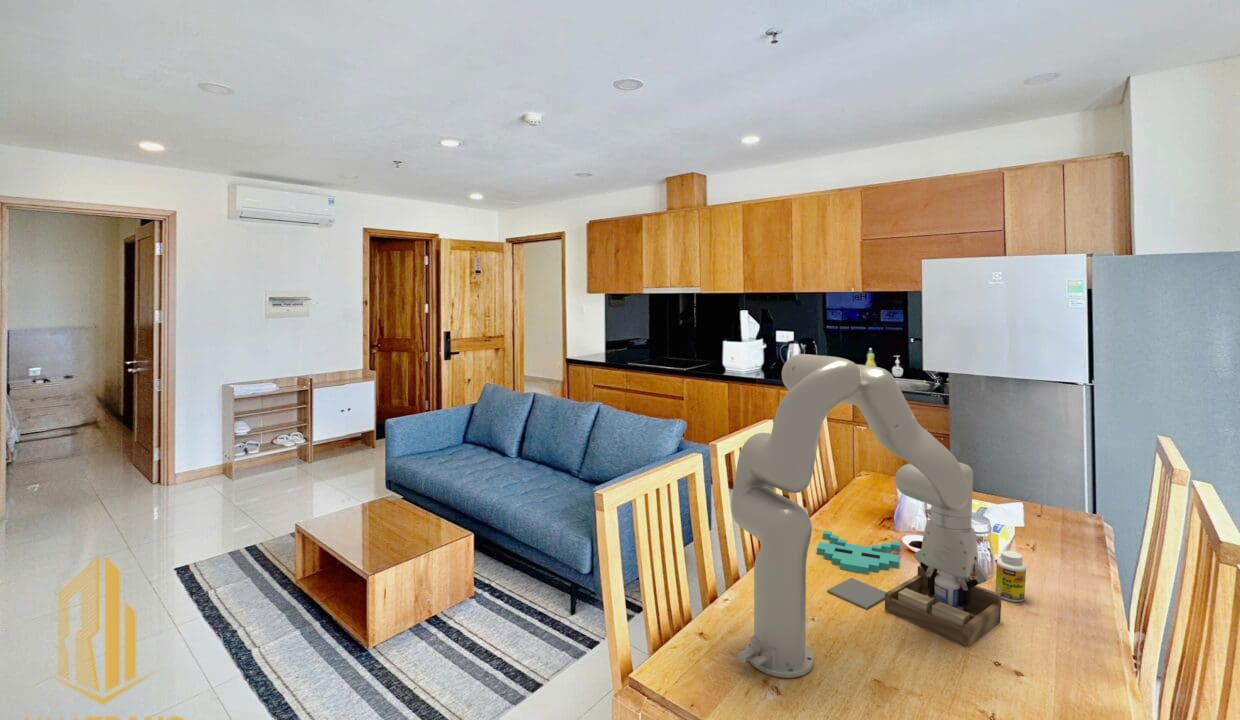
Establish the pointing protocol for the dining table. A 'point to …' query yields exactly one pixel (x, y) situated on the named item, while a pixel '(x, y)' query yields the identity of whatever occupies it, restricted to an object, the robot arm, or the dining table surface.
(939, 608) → the offcut
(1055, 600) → the dining table surface
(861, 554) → the alien figure
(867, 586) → the rubber coaster
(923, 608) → the offcut
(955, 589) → the pill bottle
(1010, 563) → the supplement bottle
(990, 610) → the walnut rack
